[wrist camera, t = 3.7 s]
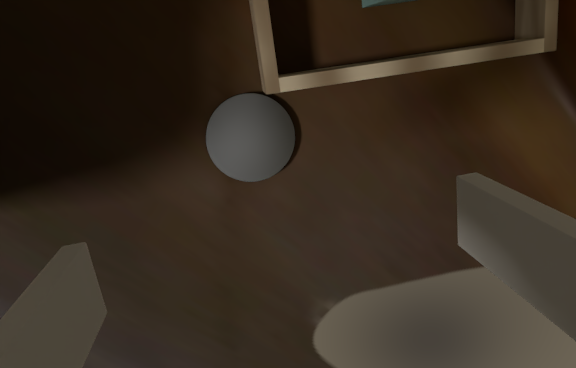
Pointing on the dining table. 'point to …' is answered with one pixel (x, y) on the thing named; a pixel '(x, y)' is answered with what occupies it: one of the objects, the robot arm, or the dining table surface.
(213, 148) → the coaster
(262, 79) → the tray
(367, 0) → the block
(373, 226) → the dining table surface
